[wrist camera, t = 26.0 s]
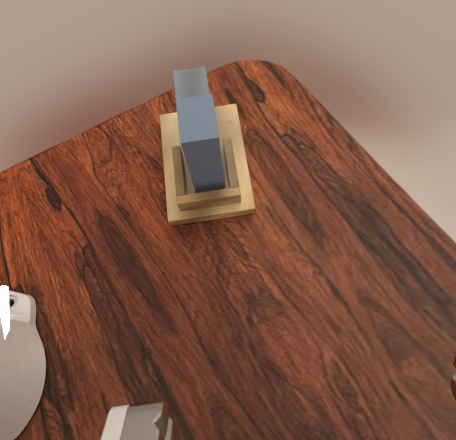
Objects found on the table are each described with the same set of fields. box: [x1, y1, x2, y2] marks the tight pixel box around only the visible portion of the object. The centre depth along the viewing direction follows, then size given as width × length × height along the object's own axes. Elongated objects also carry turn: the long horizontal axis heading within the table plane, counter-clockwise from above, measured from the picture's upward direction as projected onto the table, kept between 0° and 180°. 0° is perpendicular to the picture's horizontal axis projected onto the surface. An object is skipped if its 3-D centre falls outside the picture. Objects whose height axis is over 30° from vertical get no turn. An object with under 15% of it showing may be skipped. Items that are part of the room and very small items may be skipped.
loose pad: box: [176, 94, 225, 193], centre depth 36 cm, size 4×5×10 cm
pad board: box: [160, 66, 255, 226], centre depth 39 cm, size 10×15×10 cm, turn 8°
